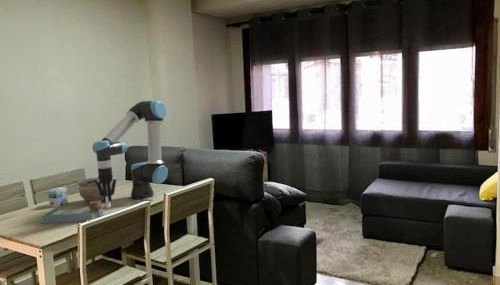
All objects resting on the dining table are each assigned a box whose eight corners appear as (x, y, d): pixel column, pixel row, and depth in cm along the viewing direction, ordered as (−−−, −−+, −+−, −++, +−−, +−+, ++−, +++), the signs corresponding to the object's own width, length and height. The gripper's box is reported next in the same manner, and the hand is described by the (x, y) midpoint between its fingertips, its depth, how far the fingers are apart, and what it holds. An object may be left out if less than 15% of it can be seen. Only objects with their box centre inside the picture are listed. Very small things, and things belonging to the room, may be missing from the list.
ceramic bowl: (81, 207, 265) (79, 184, 263) (78, 200, 284) (76, 179, 282) (117, 201, 275) (115, 179, 273) (112, 195, 294) (110, 174, 292)
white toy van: (58, 207, 270) (56, 190, 269) (49, 207, 272) (47, 191, 270) (68, 202, 281) (67, 187, 279) (59, 202, 282) (58, 187, 281)
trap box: (104, 212, 250) (103, 205, 249) (92, 221, 234) (91, 213, 234) (56, 214, 252) (56, 207, 251) (42, 223, 236) (41, 215, 235)
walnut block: (101, 208, 248) (100, 200, 247) (98, 211, 243) (97, 202, 242) (93, 209, 248) (92, 201, 248) (89, 211, 243) (88, 203, 243)
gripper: (118, 165, 245) (121, 204, 248) (96, 166, 246) (100, 205, 249) (113, 168, 238) (117, 208, 241) (90, 169, 239) (95, 209, 242)
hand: (108, 207), depth 245 cm, fingers closed
